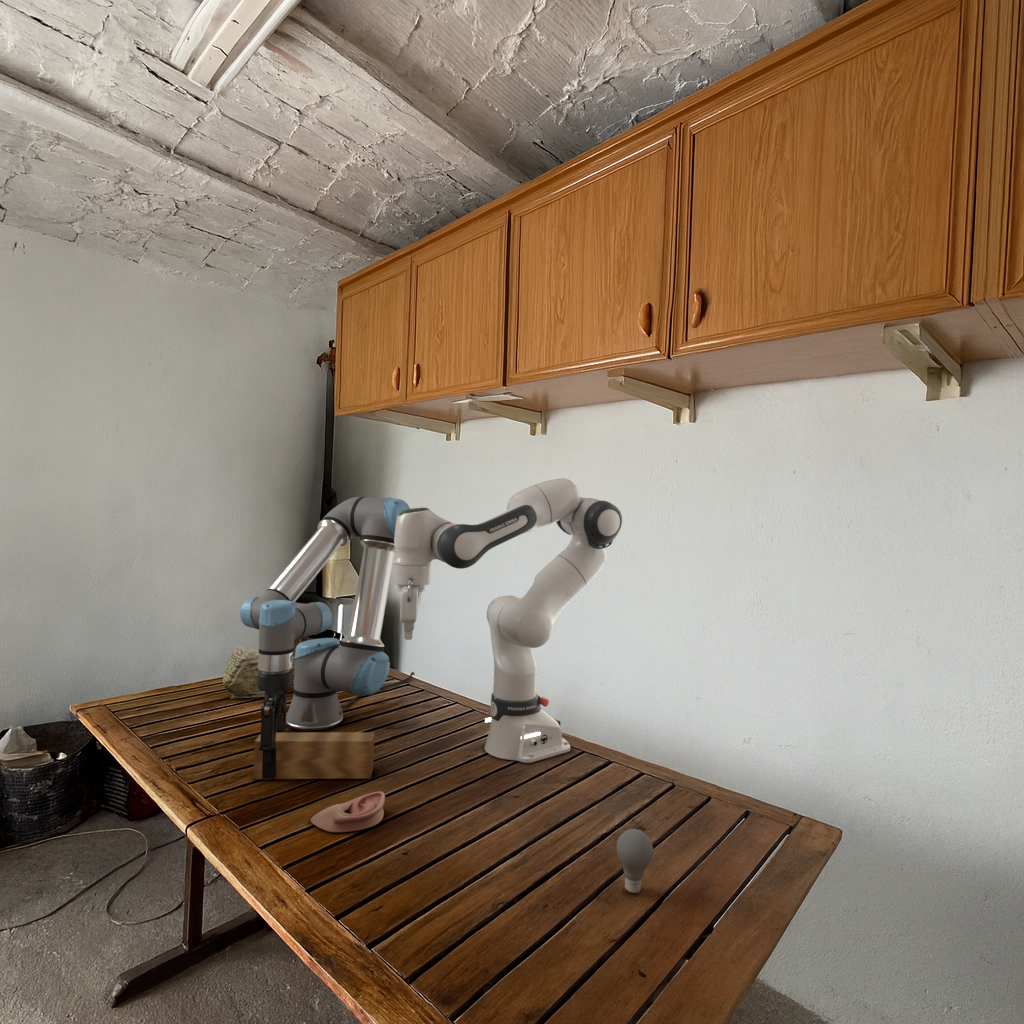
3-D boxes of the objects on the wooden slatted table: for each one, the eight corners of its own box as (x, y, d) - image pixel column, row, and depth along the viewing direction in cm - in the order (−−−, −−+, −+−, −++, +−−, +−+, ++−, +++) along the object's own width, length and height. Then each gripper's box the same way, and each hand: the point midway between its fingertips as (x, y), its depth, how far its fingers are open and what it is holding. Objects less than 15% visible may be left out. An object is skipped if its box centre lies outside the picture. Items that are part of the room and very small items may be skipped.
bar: (253, 779, 140) (254, 741, 140) (260, 769, 146) (261, 732, 145) (370, 778, 143) (372, 741, 143) (373, 768, 148) (374, 732, 148)
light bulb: (610, 879, 108) (613, 822, 108) (644, 879, 109) (647, 822, 109) (619, 902, 102) (622, 840, 102) (655, 901, 103) (658, 840, 103)
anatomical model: (303, 807, 121) (332, 781, 132) (302, 827, 121) (331, 800, 132) (368, 817, 118) (392, 790, 129) (367, 838, 118) (391, 809, 129)
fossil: (218, 695, 195) (220, 647, 195) (278, 685, 208) (279, 640, 207) (228, 703, 189) (230, 653, 188) (289, 692, 201) (290, 645, 201)
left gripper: (282, 682, 134) (279, 790, 135) (301, 659, 152) (298, 755, 153) (245, 681, 133) (242, 791, 134) (269, 659, 151) (266, 755, 152)
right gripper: (424, 582, 139) (421, 645, 140) (426, 571, 160) (423, 626, 160) (394, 581, 139) (392, 644, 139) (400, 570, 159) (398, 625, 159)
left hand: (272, 771), depth 143 cm, fingers closed on bar, 5 cm apart
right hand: (409, 634), depth 150 cm, fingers open, 8 cm apart
